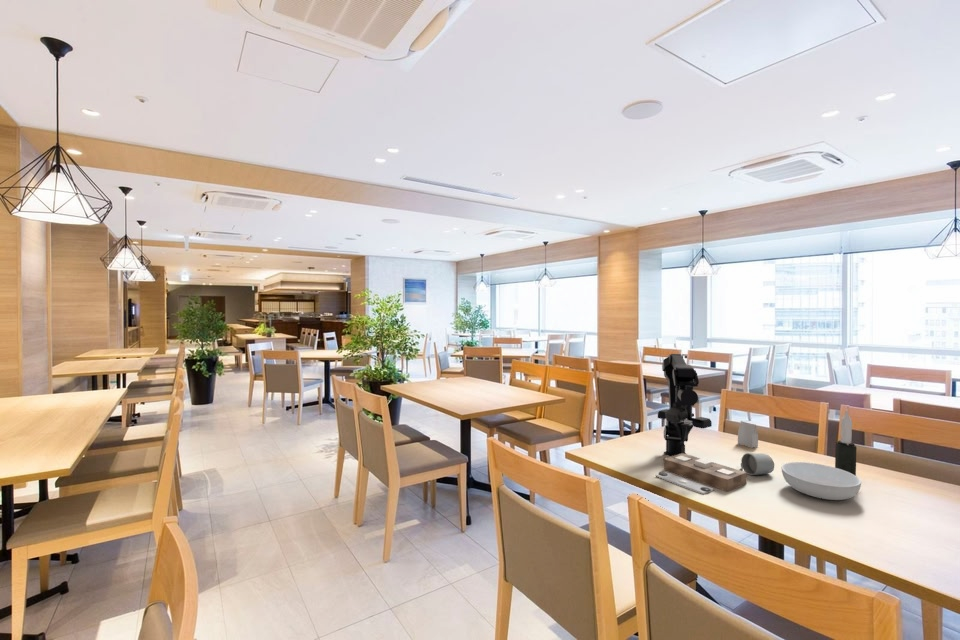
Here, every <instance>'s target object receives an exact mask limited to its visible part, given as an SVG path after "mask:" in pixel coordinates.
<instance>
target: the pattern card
mask: <svg viewBox="0 0 960 640" xmlns="http://www.w3.org/2000/svg"><path fill="white" fill-rule="evenodd" d="M655 476H657V477H659V478H658V479H660V478H662V479H661V480H663V479H664V480H663V481H665V480H667V481H666V482H668V481H669V482H668V483H671V482H672V483H671V484H674V485H676V484H677V486H679V487H682V488H685V489H687V490H690V491H693V492H696V493H698V494H700V493H701V495H706V494H708V493H711V492H713V490H714V488H713V487H711V486H708V485H706V484H703V483H700V482H699V483H698V482H696V481H694V480H693V481H692V480H690V479H689V478H686V477H685V478H684V477H683V476H680V475H677V474H674V473H672V472H669V471H664V472H661V471H660V472H658V474H655ZM657 477H656V478H657ZM705 493H706V494H705Z"/></svg>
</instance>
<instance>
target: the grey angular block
mask: <svg viewBox="0 0 960 640" xmlns="http://www.w3.org/2000/svg"><path fill="white" fill-rule="evenodd" d="M737 444H738V445H740V446H744V445H745V446H744V447H747V446H749V447H748V448H750V447H751V449H754V448H753V447H755V448H758V447H759V432H758V428H757V424H756V423H751V422H747V421H743V420H741V421H740V423H739V426H738V430H737Z"/></svg>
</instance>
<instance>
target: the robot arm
mask: <svg viewBox="0 0 960 640" xmlns="http://www.w3.org/2000/svg"><path fill="white" fill-rule="evenodd" d="M662 361H663V362H662V365H661V367H662V368H661V370H662V372H663V377H664V378H665V379H666V380H667V383H668V384H667V385H668V402H669V403H668V404H669V405H668V406H669V409H662V410H661V409H660V410H658V412H657V419H661V420H665V419H666V422H665V425H664V428H663V439H664V441H666V442H665V451H663V454H666V455H669V456H670V457H671V456H675V455H678V454H681V453H684V454H687V453H686V444H685V443H687V442H688V441H689V434H690V432H691V431H692V429H694V428H699V429H706V428H711V427H712V423H713V422H712V420H711V419H710V418H709V417H703V416H698V417H695V413H693V406H695V405H696V404H697V403H698V401H699V395H698V393H697V392H696V391H695V390H694V387H695V388H697V387H699V386H698V385H699V383H700V381H699V377H698V373H697V371H696V369H695V368H694V367H693V366H692V365H690V364H687V363H686V361H685V359H684V355H683V354H681V353H670V354H669V355H668V357H666V358H664V359H663V360H662Z"/></svg>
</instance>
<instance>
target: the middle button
mask: <svg viewBox="0 0 960 640" xmlns="http://www.w3.org/2000/svg"><path fill="white" fill-rule="evenodd" d="M712 462H713V461H711V460H708V459H703V458H701V459H698V460H695V465H696V466H699V467H702V468H705V469H707V468H710V467H712Z"/></svg>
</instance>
